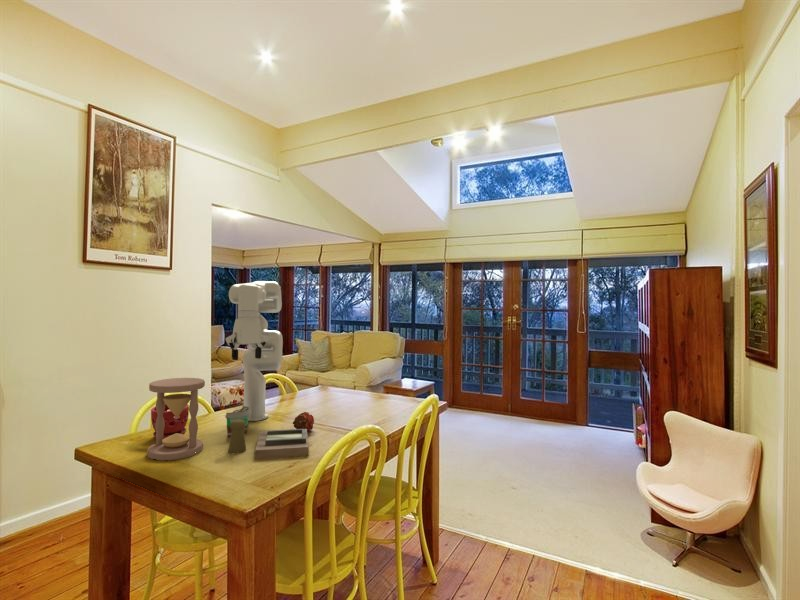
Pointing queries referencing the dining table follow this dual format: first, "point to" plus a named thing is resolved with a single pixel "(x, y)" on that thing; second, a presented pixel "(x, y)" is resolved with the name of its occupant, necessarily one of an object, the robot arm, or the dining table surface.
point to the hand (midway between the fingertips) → (246, 359)
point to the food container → (238, 418)
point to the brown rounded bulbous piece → (237, 437)
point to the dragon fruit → (304, 421)
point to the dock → (282, 443)
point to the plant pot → (171, 421)
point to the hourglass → (176, 443)
